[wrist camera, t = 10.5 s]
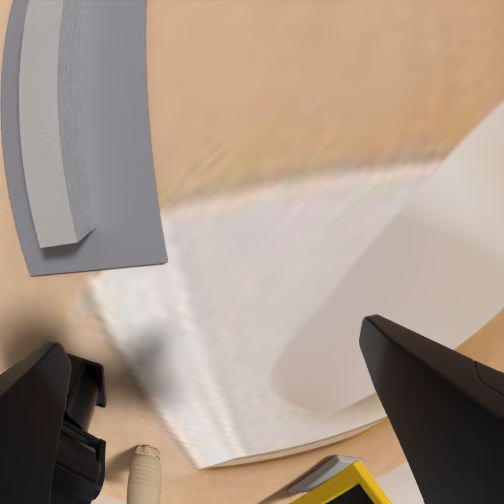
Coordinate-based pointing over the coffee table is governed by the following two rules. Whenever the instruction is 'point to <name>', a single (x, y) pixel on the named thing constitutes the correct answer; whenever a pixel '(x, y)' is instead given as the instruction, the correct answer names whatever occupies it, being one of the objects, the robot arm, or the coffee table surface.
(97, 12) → the mat
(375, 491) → the yellow framed monitor
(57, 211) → the rail
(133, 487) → the handle
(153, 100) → the coffee table surface
